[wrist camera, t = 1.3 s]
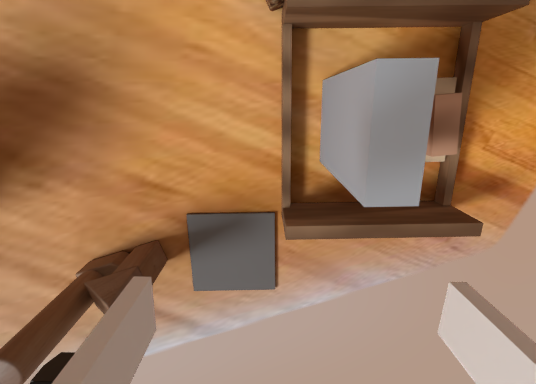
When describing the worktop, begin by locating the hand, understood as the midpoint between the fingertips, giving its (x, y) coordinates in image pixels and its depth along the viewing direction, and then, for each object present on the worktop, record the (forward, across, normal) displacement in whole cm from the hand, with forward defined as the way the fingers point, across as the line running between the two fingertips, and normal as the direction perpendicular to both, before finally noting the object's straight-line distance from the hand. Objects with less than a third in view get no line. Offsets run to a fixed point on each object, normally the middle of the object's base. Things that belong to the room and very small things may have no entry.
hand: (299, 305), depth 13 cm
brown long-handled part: (+27, -21, -14) cm, 37 cm away
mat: (+27, -6, -12) cm, 30 cm away
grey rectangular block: (+27, +8, +7) cm, 29 cm away
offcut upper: (+26, +19, +7) cm, 33 cm away
